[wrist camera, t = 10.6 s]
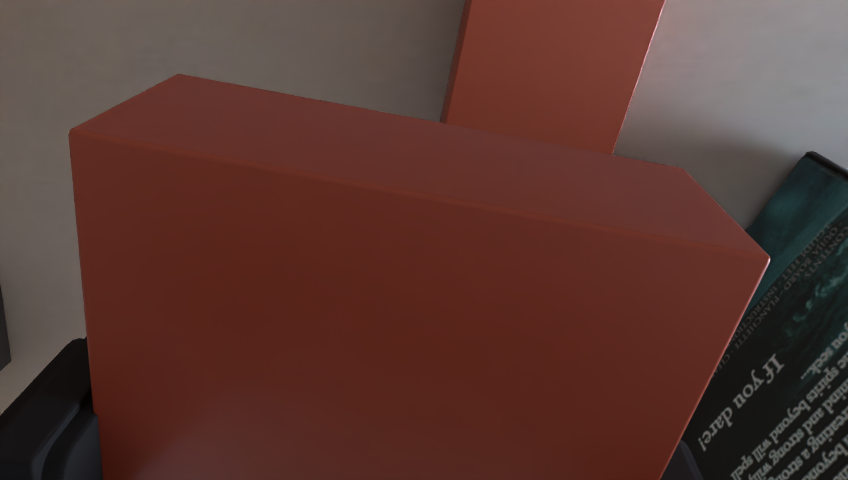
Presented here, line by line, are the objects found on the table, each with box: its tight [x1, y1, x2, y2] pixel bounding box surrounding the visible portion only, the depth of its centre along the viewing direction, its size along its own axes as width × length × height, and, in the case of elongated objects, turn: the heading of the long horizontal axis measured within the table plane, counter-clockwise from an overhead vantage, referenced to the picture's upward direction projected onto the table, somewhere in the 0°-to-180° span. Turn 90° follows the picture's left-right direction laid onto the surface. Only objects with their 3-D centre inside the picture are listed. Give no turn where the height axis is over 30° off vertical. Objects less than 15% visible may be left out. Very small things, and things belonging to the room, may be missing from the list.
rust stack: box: [440, 0, 666, 155], centre depth 24 cm, size 10×6×5 cm
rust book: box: [68, 74, 770, 480], centre depth 9 cm, size 10×6×2 cm
